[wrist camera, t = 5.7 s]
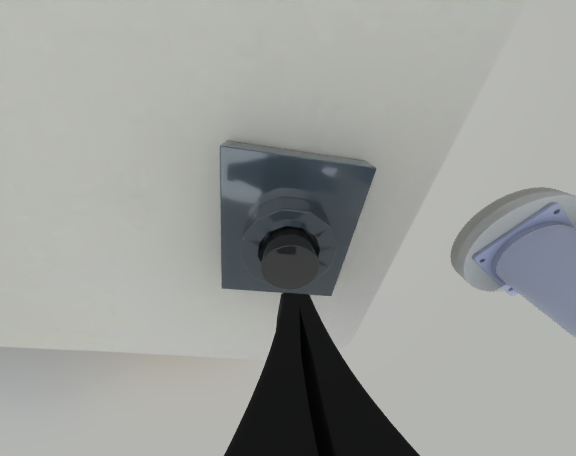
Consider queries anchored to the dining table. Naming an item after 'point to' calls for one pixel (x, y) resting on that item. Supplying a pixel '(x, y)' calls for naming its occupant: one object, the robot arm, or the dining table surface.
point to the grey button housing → (287, 209)
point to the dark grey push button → (289, 259)
